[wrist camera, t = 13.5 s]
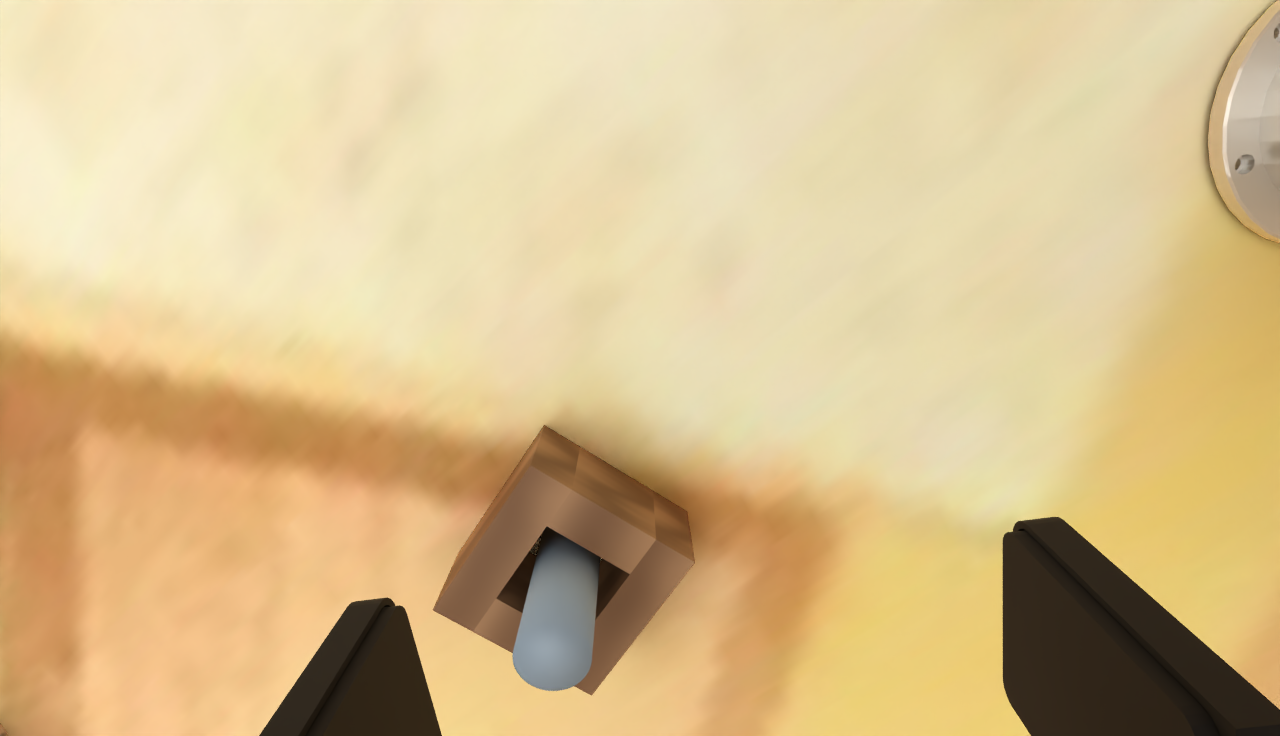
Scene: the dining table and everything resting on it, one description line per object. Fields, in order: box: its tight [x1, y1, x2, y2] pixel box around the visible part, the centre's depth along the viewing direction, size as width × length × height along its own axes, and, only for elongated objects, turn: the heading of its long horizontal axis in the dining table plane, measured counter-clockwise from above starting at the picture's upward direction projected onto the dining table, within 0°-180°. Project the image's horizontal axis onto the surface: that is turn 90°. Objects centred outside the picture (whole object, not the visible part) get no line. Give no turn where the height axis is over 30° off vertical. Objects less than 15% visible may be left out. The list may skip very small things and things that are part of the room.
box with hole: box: [433, 425, 695, 695], centre depth 35 cm, size 9×9×5 cm
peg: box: [513, 527, 600, 691], centre depth 33 cm, size 3×3×10 cm
